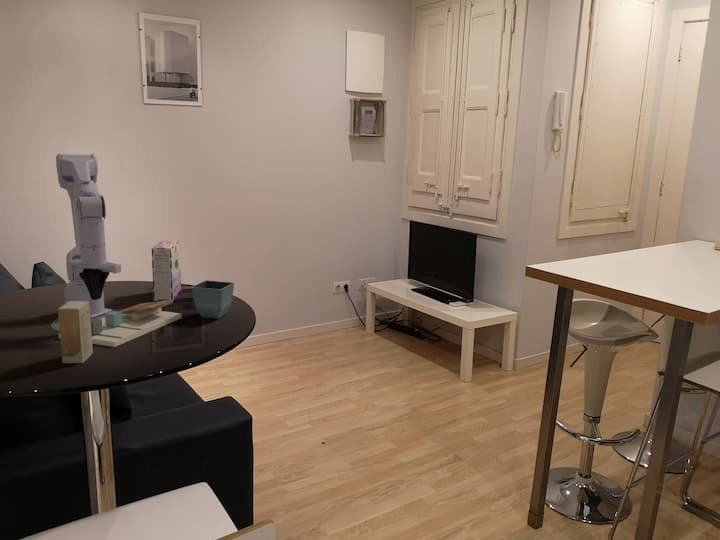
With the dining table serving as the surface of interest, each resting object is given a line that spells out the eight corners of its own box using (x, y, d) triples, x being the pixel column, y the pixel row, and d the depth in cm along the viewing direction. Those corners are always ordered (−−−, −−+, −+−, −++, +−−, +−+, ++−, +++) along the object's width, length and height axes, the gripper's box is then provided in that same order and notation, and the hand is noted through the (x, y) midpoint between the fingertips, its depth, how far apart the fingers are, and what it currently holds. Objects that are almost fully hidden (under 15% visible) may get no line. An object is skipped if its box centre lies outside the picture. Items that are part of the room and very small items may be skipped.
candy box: (163, 290, 187) (161, 240, 184) (181, 290, 188) (180, 240, 185) (152, 301, 174) (150, 247, 170) (173, 301, 174) (171, 247, 171)
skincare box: (73, 353, 129) (69, 300, 126) (93, 353, 129) (90, 300, 126) (61, 364, 122) (56, 308, 120) (82, 363, 123) (78, 308, 120)
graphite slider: (84, 333, 138) (83, 321, 137) (93, 330, 140) (92, 318, 140) (94, 334, 137) (93, 322, 136) (102, 331, 139) (101, 319, 139)
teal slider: (105, 325, 144) (104, 313, 143) (113, 322, 147) (112, 310, 146) (114, 326, 143) (114, 315, 143) (122, 323, 146) (121, 312, 145)
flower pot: (222, 321, 155) (221, 289, 154) (191, 319, 157) (190, 286, 155) (235, 313, 164) (234, 282, 162) (206, 310, 165) (205, 280, 164)
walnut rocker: (117, 314, 151) (116, 311, 151) (140, 306, 159) (139, 303, 159) (151, 310, 147) (151, 307, 147) (173, 302, 156) (172, 299, 156)
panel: (59, 338, 138) (58, 325, 137) (132, 311, 162) (131, 300, 162) (114, 347, 133) (113, 333, 133) (181, 317, 158) (181, 306, 157)
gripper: (56, 245, 141) (60, 299, 144) (105, 249, 137) (108, 305, 139) (78, 241, 147) (82, 293, 150) (125, 245, 143) (128, 298, 146)
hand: (96, 298), depth 145 cm, fingers closed
